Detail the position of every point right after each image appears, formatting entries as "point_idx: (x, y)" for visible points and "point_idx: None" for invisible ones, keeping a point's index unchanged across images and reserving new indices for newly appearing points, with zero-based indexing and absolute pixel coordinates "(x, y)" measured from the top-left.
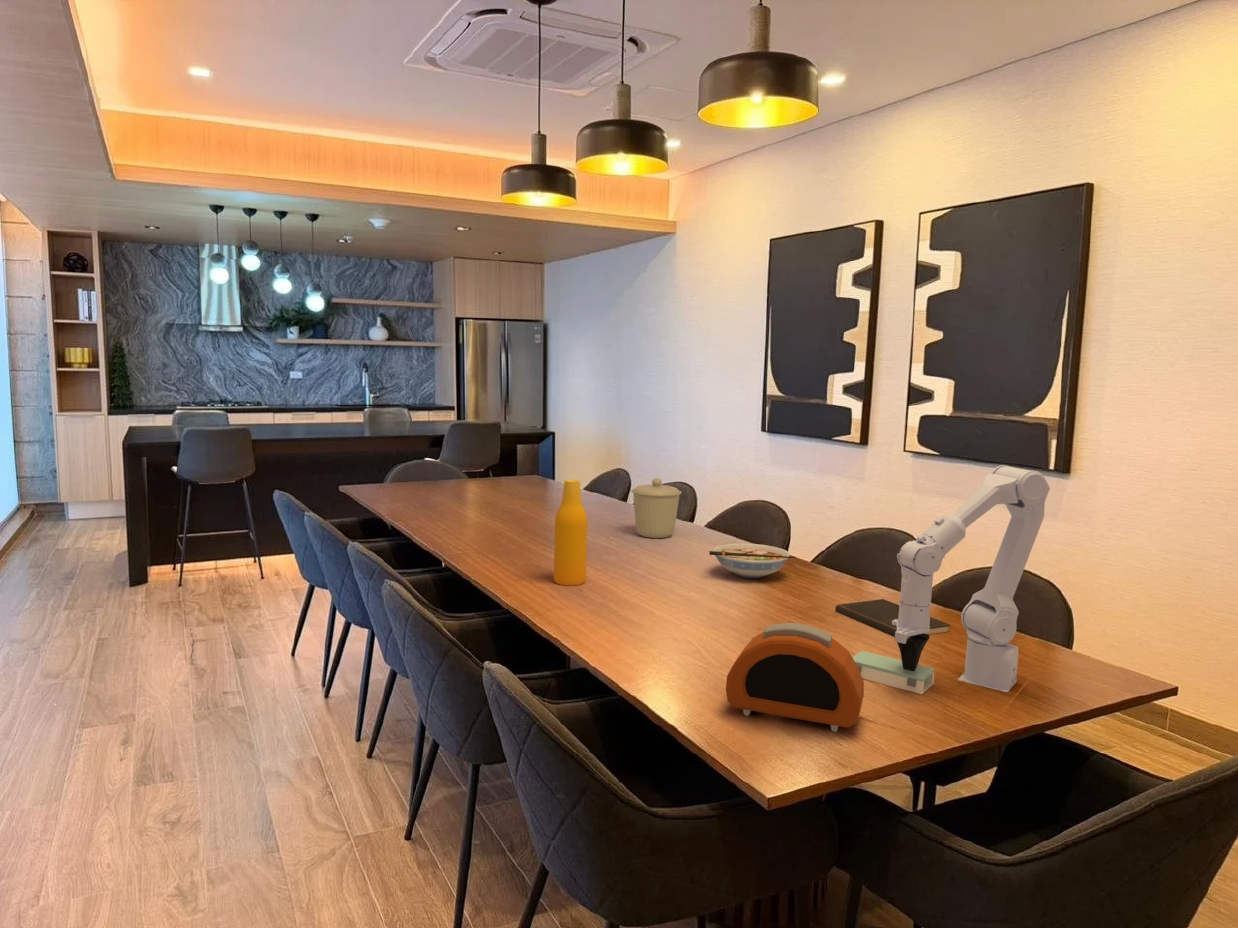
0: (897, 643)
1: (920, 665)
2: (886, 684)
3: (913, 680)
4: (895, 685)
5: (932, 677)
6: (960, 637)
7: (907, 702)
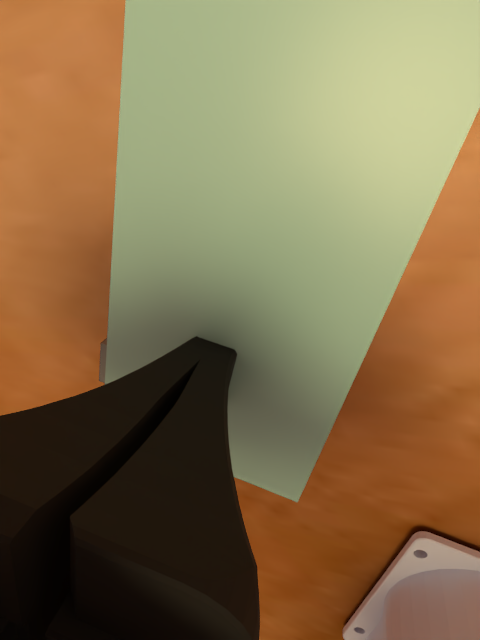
0: (6, 414)
1: (319, 440)
2: None
3: (103, 372)
4: None
5: None
6: None
7: (58, 308)
